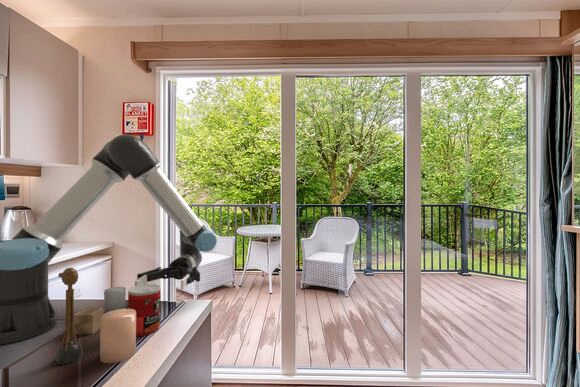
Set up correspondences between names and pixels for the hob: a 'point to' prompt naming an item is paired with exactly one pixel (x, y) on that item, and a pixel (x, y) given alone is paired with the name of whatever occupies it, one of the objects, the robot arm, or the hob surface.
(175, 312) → the hob surface
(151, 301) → the canned food
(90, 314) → the walnut block
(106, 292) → the grey-white rounded cylinder
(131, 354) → the peach cylinder
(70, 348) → the wooden tabletop sculpture
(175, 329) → the hob surface
